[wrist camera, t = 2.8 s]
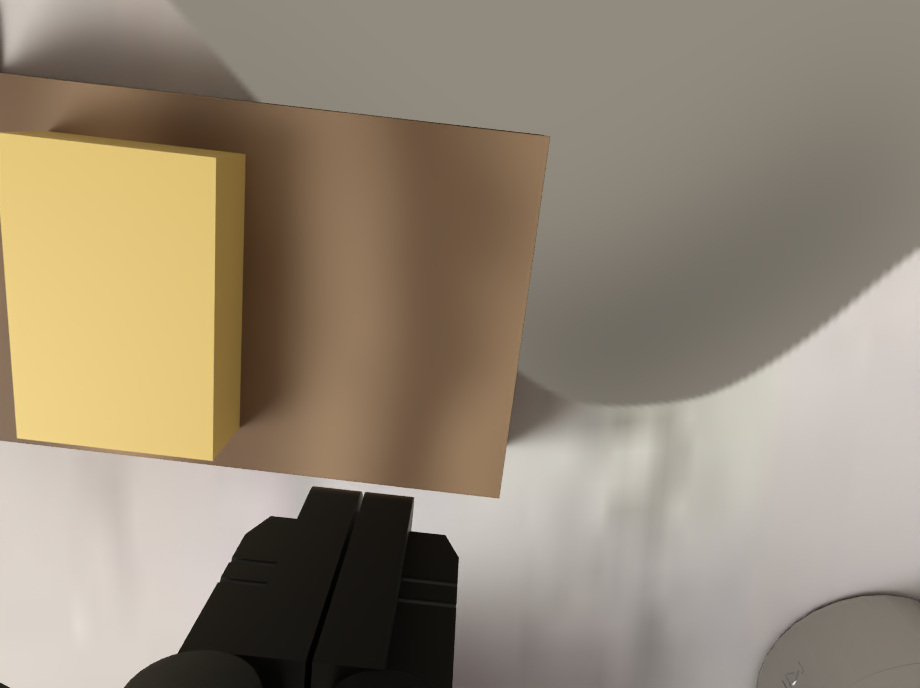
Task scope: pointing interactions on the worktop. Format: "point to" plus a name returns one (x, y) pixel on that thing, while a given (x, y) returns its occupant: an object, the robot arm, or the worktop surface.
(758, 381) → the worktop surface
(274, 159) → the brown flat block
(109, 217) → the yellow rectangular block
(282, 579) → the robot arm
